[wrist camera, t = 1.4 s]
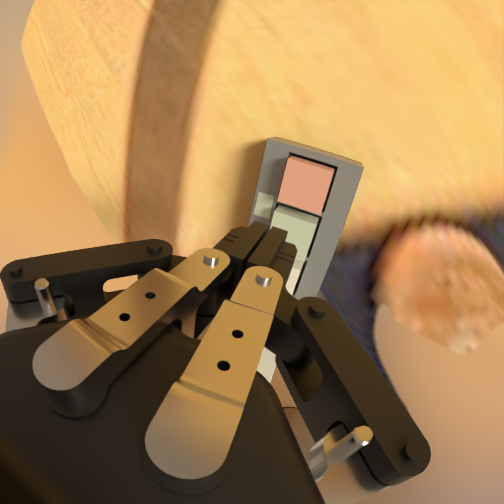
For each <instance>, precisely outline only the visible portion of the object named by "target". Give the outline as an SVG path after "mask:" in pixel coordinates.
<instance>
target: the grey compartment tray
mask: <svg viewBox="0 0 504 504" xmlns="http://www.w3.org/2000/svg"><path fill="white" fill-rule="evenodd" d="M291 156H295V157H298V158H301V159H305V160H308V161H311V162H315V163H318V164H321V165H324V166H327V167H330V168H333V169H334V173H333V176H332V180H331V183H330V186H329V190H328V193H327V196H326V199H325V202H324V206H323V209H322V212H321V215H318V214H315V213H312V212H309V211H306V210H303V209H300V208H297V207H294V206H291V205H288V204H285V203H281V202H278V201H277V200H278V196H279V192H280V188H281V184H282V180H283V176H284V172H285V168H286V164H287V160H288V158H289V157H291ZM363 169H364V167H363V165H362V163H360V162H357V161H354V160H352V159H349V158H346V157H343V156H340V155H337V154H334V153H331V152H327V151H324V150H321V149H318V148H314V147H311V146H308V145H304V144H301V143H297V142H294V141H290V140H286V139H282V138H278V137H273V138H268V139H267V143H266V148H265V152H264V157H263V161H262V166H261V170H260V175H259V179H258V184H257V188H256V193H255V197H254V202H253V206H252V211H251V216H250V220H249V225H248V227H249V226H250V225H251V224H252V223H253V222H254V221H255V220H256V221H259V222H262V223H265V224H268V225H270V226H271V222H272V218H273V214H274V211H275V210H276V208H277V207H278V206H279V205H282V206H285V207H288V208H291V209H294V210H297V211H300V212H303V213H306V214H309V215H312V216H315V217H318V218H319V219H318V223H317V226H316V229H315V232H314V235H313V238H312V241H311V244H310V247H309V250H308V253H307V256H306V258H305V261H304V263H303V266H302V269H301V272H300V274H299V277H298V280H297V283H296V285H295V288H294V291H293V294H292V296H293V297H295V298H296V299H298V300H300V299H301V298H304V297H316V296H317V293H318V291H319V289H320V286H321V284H322V281H323V279H324V276H325V274H326V272H327V269H328V267H329V264H330V262H331V259H332V257H333V254H334V251H335V249H336V246H337V244H338V241H339V238H340V236H341V233H342V230H343V227H344V225H345V222H346V219H347V216H348V214H349V211H350V208H351V205H352V202H353V199H354V196H355V193H356V190H357V187H358V184H359V181H360V178H361V175H362V172H363Z"/></svg>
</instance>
